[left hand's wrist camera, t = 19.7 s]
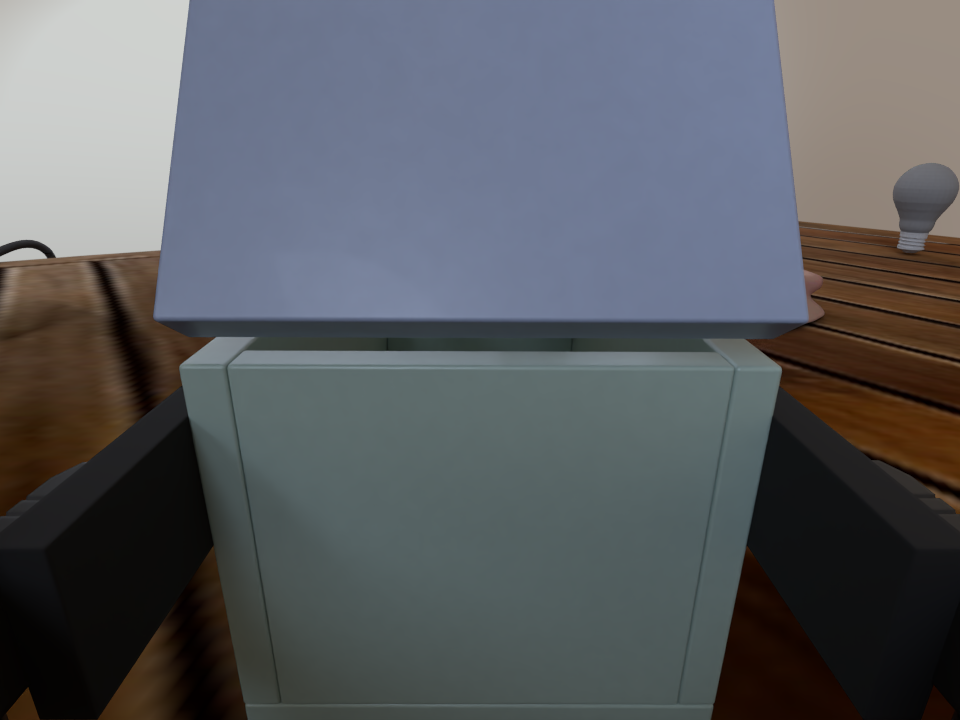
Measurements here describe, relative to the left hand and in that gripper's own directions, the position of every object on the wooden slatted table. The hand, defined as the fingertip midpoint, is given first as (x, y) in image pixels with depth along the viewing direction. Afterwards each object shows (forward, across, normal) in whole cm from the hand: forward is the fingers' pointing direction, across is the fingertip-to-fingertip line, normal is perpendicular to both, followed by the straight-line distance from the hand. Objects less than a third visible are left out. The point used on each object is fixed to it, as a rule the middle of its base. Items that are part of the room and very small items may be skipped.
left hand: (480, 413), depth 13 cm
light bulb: (+57, +51, -6) cm, 77 cm away
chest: (+6, 0, -6) cm, 8 cm away
